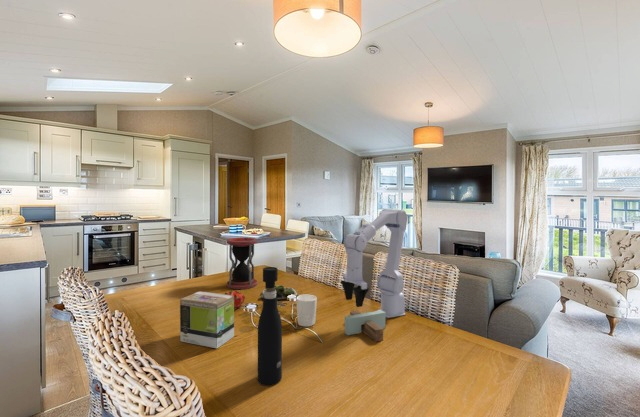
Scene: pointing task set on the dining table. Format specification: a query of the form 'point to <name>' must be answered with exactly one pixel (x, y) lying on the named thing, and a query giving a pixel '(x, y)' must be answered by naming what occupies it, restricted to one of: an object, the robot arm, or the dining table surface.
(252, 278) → the hourglass
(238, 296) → the dragon fruit
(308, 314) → the white cup
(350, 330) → the pale green flat block
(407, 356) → the dining table surface
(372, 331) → the walnut rail
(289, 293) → the salad plate
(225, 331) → the tea box
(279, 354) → the black water bottle
